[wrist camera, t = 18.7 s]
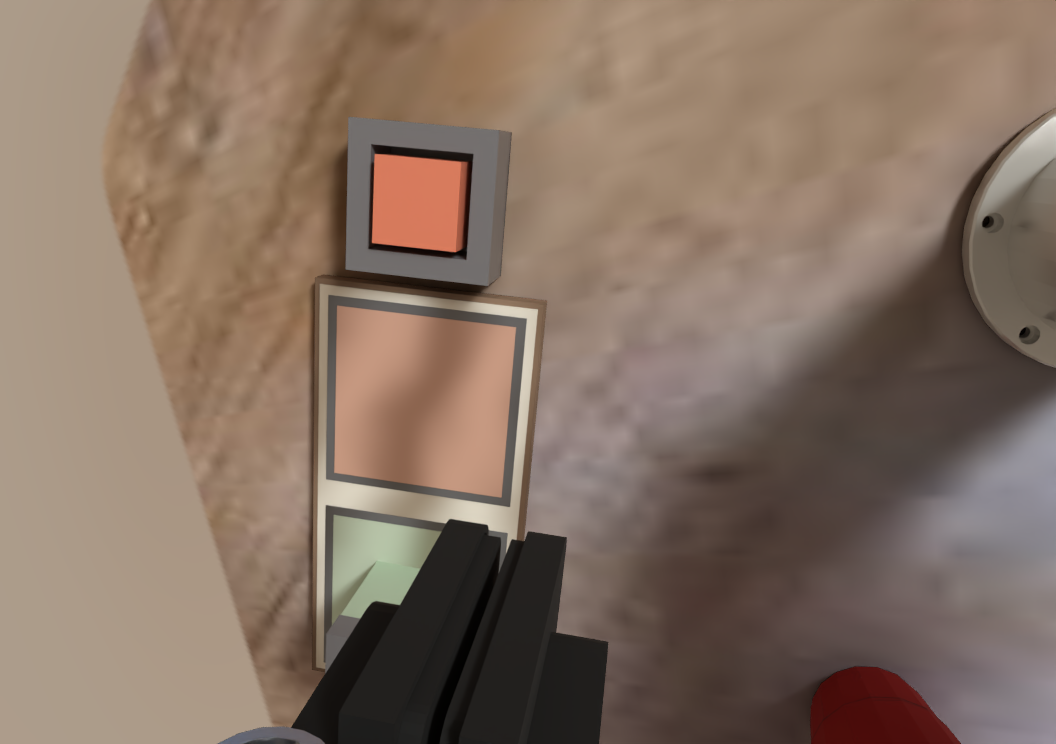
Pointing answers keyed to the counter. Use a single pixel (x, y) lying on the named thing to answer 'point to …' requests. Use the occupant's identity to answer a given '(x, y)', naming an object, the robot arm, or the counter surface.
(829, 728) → the plastic cup
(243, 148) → the counter surface
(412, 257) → the button housing
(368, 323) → the picture board
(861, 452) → the counter surface
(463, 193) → the button
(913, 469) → the counter surface
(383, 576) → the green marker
